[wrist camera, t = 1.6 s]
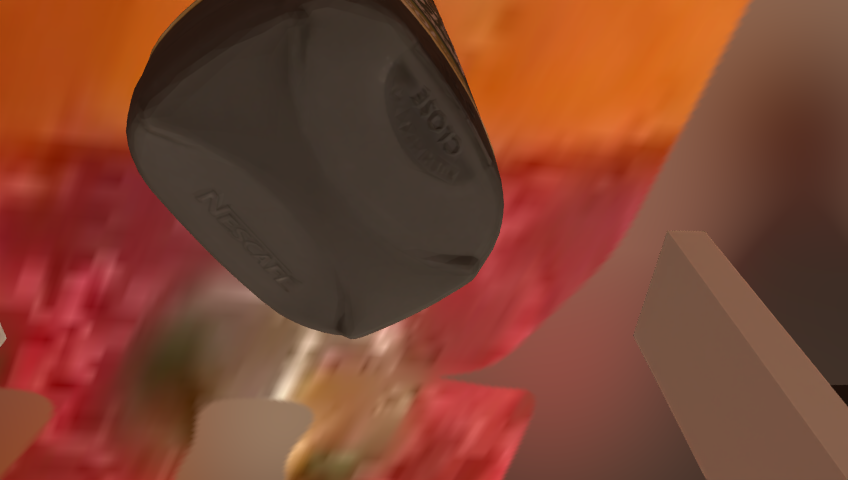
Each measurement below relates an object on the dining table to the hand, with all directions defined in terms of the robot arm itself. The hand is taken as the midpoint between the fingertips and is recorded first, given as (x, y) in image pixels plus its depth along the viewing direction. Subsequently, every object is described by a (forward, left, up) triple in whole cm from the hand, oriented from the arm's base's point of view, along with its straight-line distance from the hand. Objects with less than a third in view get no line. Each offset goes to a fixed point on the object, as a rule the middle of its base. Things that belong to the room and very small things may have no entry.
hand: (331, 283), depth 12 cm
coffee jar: (0, 0, -21) cm, 21 cm away
